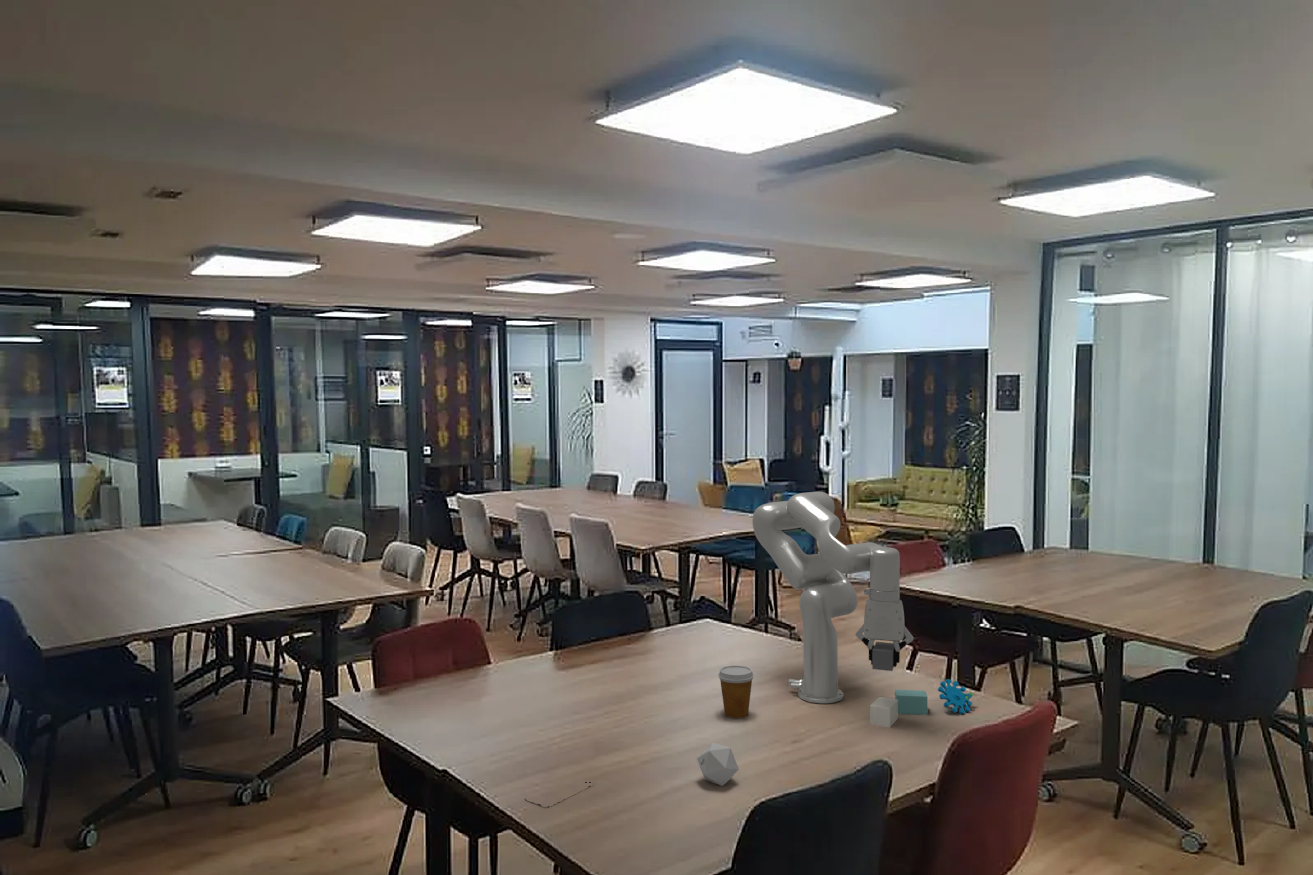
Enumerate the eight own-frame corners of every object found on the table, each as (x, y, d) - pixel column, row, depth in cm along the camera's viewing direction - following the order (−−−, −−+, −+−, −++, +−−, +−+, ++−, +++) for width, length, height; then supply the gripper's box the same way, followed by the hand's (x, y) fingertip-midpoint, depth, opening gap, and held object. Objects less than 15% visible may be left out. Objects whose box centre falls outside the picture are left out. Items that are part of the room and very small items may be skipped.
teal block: (896, 713, 242) (896, 695, 242) (894, 707, 247) (894, 689, 247) (927, 715, 240) (927, 696, 240) (925, 708, 245) (925, 690, 245)
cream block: (889, 728, 232) (889, 708, 231) (870, 724, 234) (870, 705, 234) (897, 718, 238) (897, 699, 238) (879, 715, 241) (879, 696, 241)
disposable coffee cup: (758, 711, 245) (758, 667, 244) (747, 722, 236) (746, 677, 236) (725, 706, 249) (725, 663, 248) (713, 717, 240) (712, 673, 240)
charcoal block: (892, 671, 231) (892, 651, 231) (872, 669, 233) (872, 650, 233) (895, 662, 239) (895, 643, 238) (876, 660, 240) (876, 641, 240)
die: (703, 773, 206) (686, 748, 202) (735, 754, 207) (719, 728, 202) (715, 800, 199) (698, 774, 195) (749, 779, 200) (732, 753, 195)
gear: (949, 712, 238) (935, 677, 244) (937, 722, 241) (923, 688, 248) (982, 711, 242) (967, 678, 248) (970, 722, 246) (955, 688, 252)
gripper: (849, 596, 234) (849, 665, 235) (917, 601, 228) (917, 671, 229) (853, 590, 241) (852, 657, 242) (919, 594, 235) (919, 663, 236)
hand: (884, 663), depth 236 cm, fingers closed on charcoal block, 5 cm apart
